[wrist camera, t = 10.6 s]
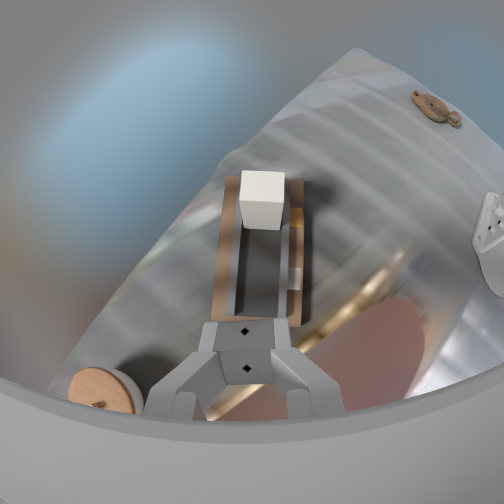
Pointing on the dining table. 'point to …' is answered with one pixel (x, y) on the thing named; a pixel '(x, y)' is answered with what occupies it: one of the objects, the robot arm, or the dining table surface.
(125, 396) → the lidded jar
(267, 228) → the switch knob
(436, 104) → the oil lamp
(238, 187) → the switch housing
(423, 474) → the robot arm
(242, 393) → the dining table surface
